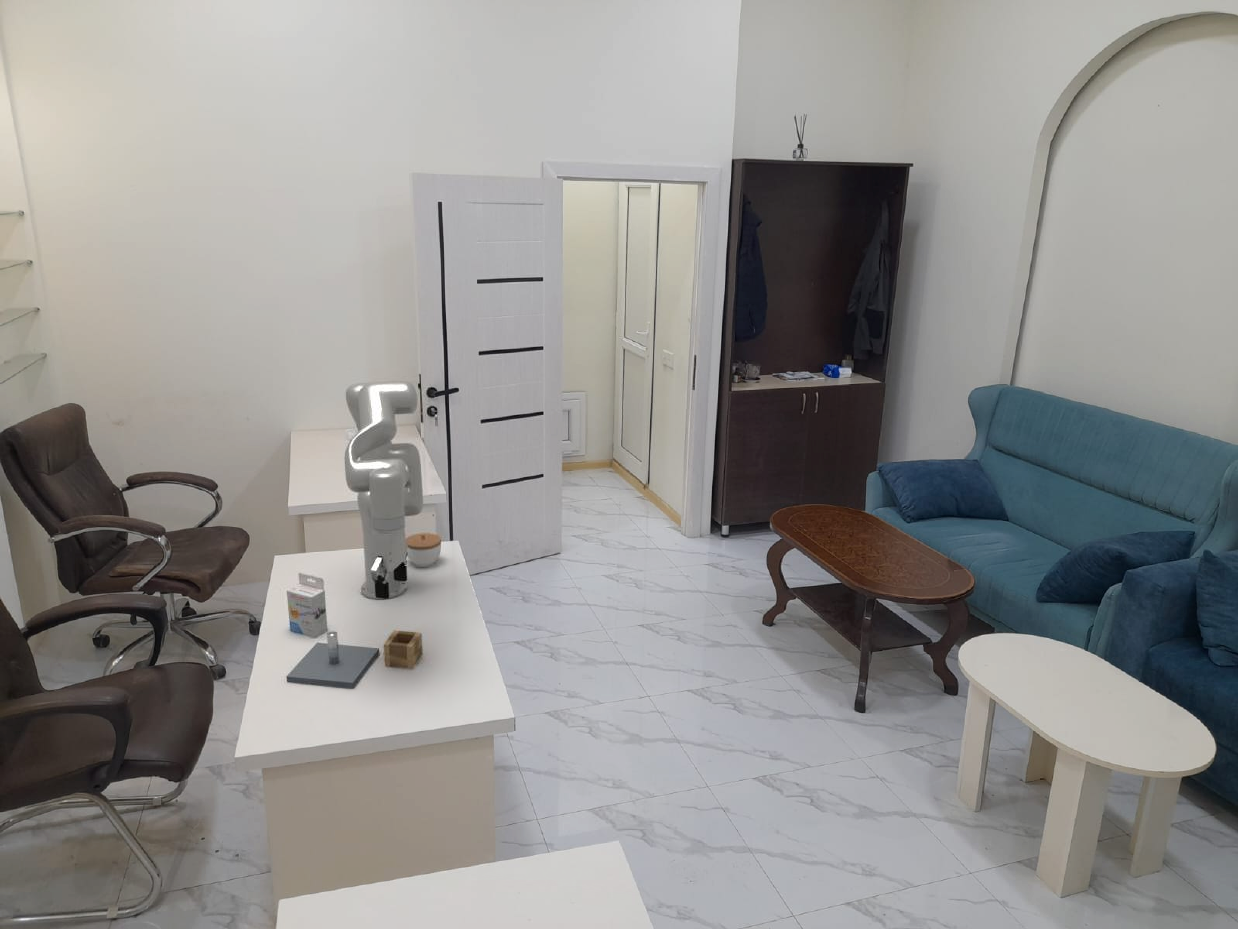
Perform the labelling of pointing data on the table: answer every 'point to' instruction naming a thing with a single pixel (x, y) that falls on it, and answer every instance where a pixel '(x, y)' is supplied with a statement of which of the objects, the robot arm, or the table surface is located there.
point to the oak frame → (403, 649)
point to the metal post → (333, 647)
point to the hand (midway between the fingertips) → (391, 589)
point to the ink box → (307, 606)
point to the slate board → (333, 666)
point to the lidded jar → (423, 549)
